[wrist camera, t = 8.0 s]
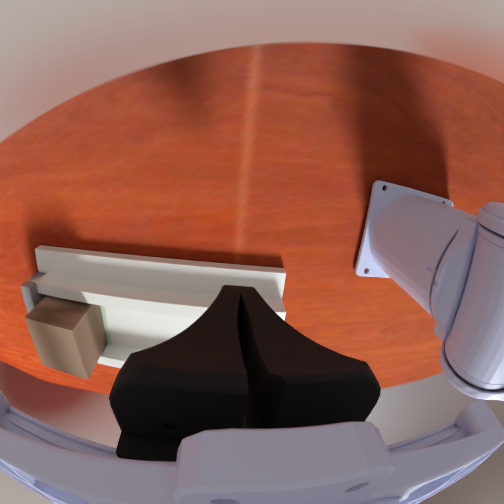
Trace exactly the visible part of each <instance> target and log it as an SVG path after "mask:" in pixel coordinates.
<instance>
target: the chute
mask: <svg viewBox="0 0 504 504" xmlns="http://www.w3.org/2000/svg"><path fill="white" fill-rule="evenodd" d="M35 254H36V260H37V266H38V271H39V272H37V273H36V274H35V275H33V276H32V277H31V278H30V279H28V280H27V281H26V282H25V283H23V284H22V285H21V289H22V293H23V297H24V301H25V304H26V308H27V311H28V313H29V312H30V311H31V310H32V309H33V308H34V307H35V306H36V305H37V304H38V303H39V302H41V301H42V300H43V299H44V298H45V297H46V296H47V295H49V296H54V297H58V298H63V299H68V300H73V301H78V302H84V303H89V304H95V305H100V308H101V313H102V319H103V324H104V329H105V333H106V338H107V342H108V343H107V345H106V347H105V349H104V350H103V352H102V354H101V356H100V358H99V360H98V362H97V363H99V364H104V365H108V366H113V367H117V368H122V366H123V364H124V363H125V361H126V360H127V358H128V357H129V355H130V354H131V353H134V352H137V351H140V350H143V349H147V348H150V347H152V346H155V345H158V344H160V343H162V342H164V341H166V340H168V339H170V338H172V337H174V336H176V335H177V334H179V333H180V332H182V331H183V330H185V329H186V328H188V327H189V326H190V325H191V324H193V323H194V322H195V321H196V320H197V319H198V318H199V317H200V316H201V315H202V314H203V313H204V312H205V311H206V310H207V309H208V308H209V306H210V305H211V304H212V303H213V301H214V300H215V299H216V297H217V296H218V294H219V292H220V290H221V288H222V286H224V285H235V286H248V287H254V288H255V289H256V290H257V292H258V293H259V294H260V295H261V297H262V298H263V299H264V300H265V301H266V303H267V304H268V305H269V306H270V307H271V308H272V309H273V310H274V311H275V312H276V313H277V314H278V315H279V316H280V317H281V318H282V319H283V320H285V315H286V311H285V308H284V305H283V302H282V294H283V289H284V283H285V278H286V272H285V269H284V268H277V267H264V266H251V265H239V264H227V263H215V262H204V261H193V260H181V259H171V258H160V257H149V256H139V255H129V254H119V253H109V252H99V251H89V250H80V249H71V248H61V247H52V246H44V245H40V246H39V247H37V248H35Z"/></svg>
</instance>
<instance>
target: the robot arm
mask: <svg viewBox="0 0 504 504" xmlns="http://www.w3.org/2000/svg"><path fill="white" fill-rule="evenodd" d="M384 185H385V190H384V191H383V189H382V187H383V186H384ZM442 202H443V204H442ZM366 268H367V271H366V272H364V270H365V269H366ZM355 273H356V274H357V275H358V276H368V277H385V278H392V279H393V280H394V281H395V282H396V283H397V284H398V285H399V286H400V287H402V288H403V289H404V290H405V291H406V292H407V293H408V294H409V295H410V296H411V297H412V298H413V299H414V300H416V301H417V302H418V303H419V304H420V305H421V306H422V307H423V308H424V309H425V310H426V311H427V312H428V313H429V314H430V315H431V316H432V317H433V318H434V319H435V328H434V333H435V334H436V335H437V336H438V337H439V338H440V339H441V340H442V341H443V344H442V346H441V349H440V353H439V361H440V365H441V368H442V370H443V372H444V374H445V375H446V377H447V379H448V380H449V381H450V382H451V383H452V384H453V385H454V386H455V387H456V388H457V389H458V390H460V391H461V392H463V393H464V394H466V395H469V396H471V397H474V398H477V399H481V400H479V401H477V402H475V403H473V404H471V405H469V406H467V407H466V408H464V409H463V410H462V411H461V412H460V413H459V415H458V416H457V417H456V419H455V421H453V422H451V423H448V424H446V425H444V426H441V427H439V428H437V429H434V430H432V431H429V432H427V433H424V434H421V435H419V436H416V437H413V438H410V439H407V440H404V441H401V442H398V443H395V444H391V445H388V446H386V444H385V442H384V440H383V437H382V435H381V433H380V431H379V429H378V428H377V427H376V426H375V425H374V424H373V423H371V422H364V421H365V420H366V418H367V417H368V416H369V414H370V413H371V411H372V409H373V408H374V406H375V405H376V403H377V401H378V399H379V396H380V391H381V388H380V385H379V383H378V381H377V379H376V377H375V376H374V374H373V372H372V370H371V369H370V367H369V365H368V364H367V362H364V361H360V360H357V359H354V358H351V357H348V356H344V355H342V354H339V353H337V352H334V351H332V350H330V349H328V348H325V347H323V346H321V345H319V344H318V343H316V342H314V341H312V340H311V339H309V338H307V337H306V336H304V335H302V334H301V333H300V332H298V331H297V330H295V329H294V328H293V327H291V326H290V325H289V324H288V323H286V322H285V321H284V320H283V319H282V318H281V317H280V316H279V315H278V314H277V313H276V312H275V311H274V310H273V309H272V308H271V307H270V306H269V305H268V304H267V303H266V301H265V300H264V299H263V298H262V297H261V295H260V294H259V293H258V292H257V290H256V289H255V288H254V287H248V286H235V285H224V286H222V288H221V290H220V292H219V294H218V296H217V297H216V299H215V300H214V301H213V303H212V304H211V305H210V306H209V308H208V309H207V310H206V311H205V312H204V313H203V314H202V315H201V316H200V317H199V318H198V319H197V320H196V321H195V322H194V323H193V324H191V325H190V326H189V327H188V328H186V329H185V330H183V331H182V332H180V333H179V334H177V335H176V336H174V337H172V338H170V339H168V340H166V341H164V342H162V343H160V344H158V345H155V346H152V347H150V348H147V349H143V350H140V351H137V352H134V353H131V354H130V355H129V357H128V358H127V360H126V361H125V363H124V364H123V366H122V368H121V369H120V371H119V373H118V375H117V377H116V380H115V382H114V385H113V387H112V390H111V393H110V396H109V400H110V405H111V408H112V410H113V413H114V415H115V417H116V420H117V422H118V424H119V426H120V429H121V435H120V438H119V442H118V445H117V448H113V447H109V446H106V445H103V444H99V443H96V442H92V441H90V440H87V439H83V438H81V437H78V436H75V435H73V434H70V433H67V432H65V431H62V430H60V429H57V428H55V427H53V426H50V425H48V424H46V423H43V422H41V421H39V420H37V419H35V418H33V417H31V416H29V415H27V414H25V413H23V412H21V411H19V410H17V409H15V408H14V407H12V406H10V405H9V403H8V401H7V399H6V398H5V396H4V395H3V394H2V392H1V391H0V470H2V471H3V472H5V473H6V474H7V475H9V476H10V477H12V478H13V479H15V480H16V481H18V482H19V483H21V484H22V485H24V486H25V487H27V488H29V489H30V490H32V491H34V492H35V493H37V494H39V495H41V496H42V497H44V498H46V499H48V500H50V501H51V502H53V503H55V504H417V503H419V502H421V501H423V500H425V499H427V498H429V497H431V496H432V495H434V494H436V493H438V492H439V491H441V490H443V489H445V488H446V487H448V486H449V485H451V484H453V483H454V482H456V481H457V480H459V479H461V478H462V477H464V476H465V475H467V474H468V473H470V472H471V471H472V470H474V469H475V468H476V467H477V466H478V465H480V464H481V463H482V462H483V461H484V460H485V459H486V458H487V457H489V456H490V455H491V454H492V453H493V452H494V451H495V450H496V449H497V448H498V447H499V446H500V445H501V444H502V443H503V442H504V428H503V427H502V425H501V424H500V422H499V421H498V419H497V418H496V417H495V415H494V414H493V413H492V411H491V410H490V408H489V407H488V406H487V404H486V403H485V402H484V401H483V400H501V401H504V204H503V203H498V202H488V203H487V204H486V205H485V206H484V207H481V208H479V210H478V215H477V216H475V215H472V214H470V213H467V212H465V211H462V210H459V209H457V208H454V207H453V202H452V201H451V200H448V199H445V198H442V197H439V196H435V195H432V194H429V193H425V192H422V191H418V190H415V189H411V188H408V187H404V186H400V185H396V184H392V183H388V182H384V181H380V180H376V181H375V182H374V183H373V186H372V192H371V198H370V203H369V208H368V214H367V218H366V223H365V228H364V233H363V237H362V241H361V246H360V250H359V254H358V258H357V262H356V266H355Z"/></svg>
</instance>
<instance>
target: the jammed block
mask: <svg viewBox="0 0 504 504" xmlns="http://www.w3.org/2000/svg"><path fill="white" fill-rule="evenodd" d="M25 320H26V323H27V326H28V329H29V332H30V335H31V337H32V340H33V343H34V345H35V348H36V350H37V353H38V355H39V358H40V360H41V362H42V364H43V365H44V366H47V367H50V368H53V369H56V370H59V371H62V372H65V373H68V374H71V375H75V376H78V377H81V378H85V379H89V377H90V375H91V373H92V371H93V369H94V367H95V365H96V363H97V362H98V360H99V358H100V356H101V354H102V352H103V350H104V349H105V347H106V345H107V343H108V342H107V338H106V333H105V329H104V324H103V319H102V313H101V308H100V305H95V304H89V303H84V302H78V301H73V300H68V299H63V298H58V297H54V296H49V295H47V296H46V297H45V298H44V299H43V300H42V301H41V302H39V303H38V304H37V305H36V306H35V307H34V308H33V309H32V310H31V311H30V312H29V313H28V314H27V315H26V316H25Z"/></svg>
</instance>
